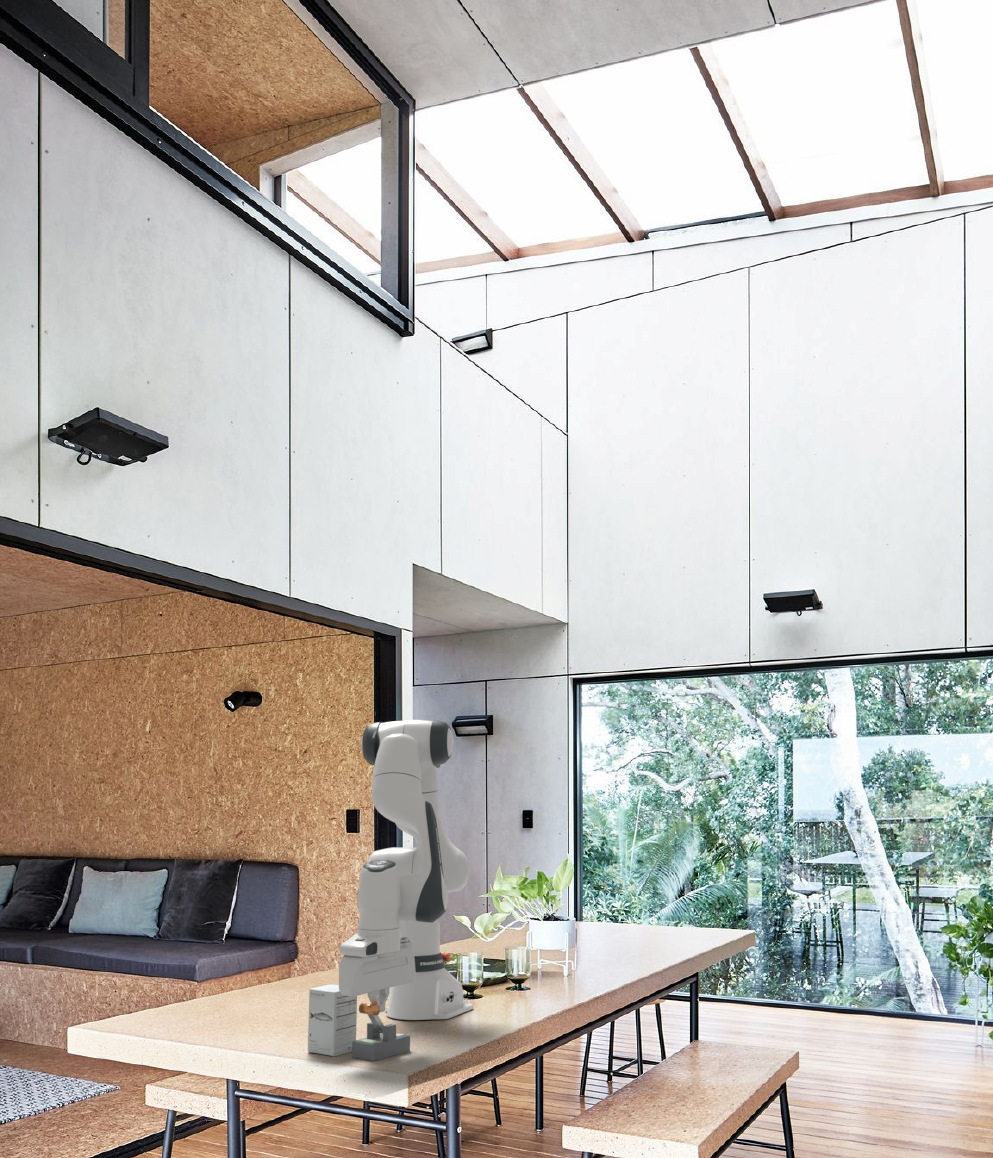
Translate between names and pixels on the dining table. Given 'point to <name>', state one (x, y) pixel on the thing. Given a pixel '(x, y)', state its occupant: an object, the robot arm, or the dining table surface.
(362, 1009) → the breaker lever
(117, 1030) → the dining table surface
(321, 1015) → the supplement box
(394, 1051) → the breaker housing
